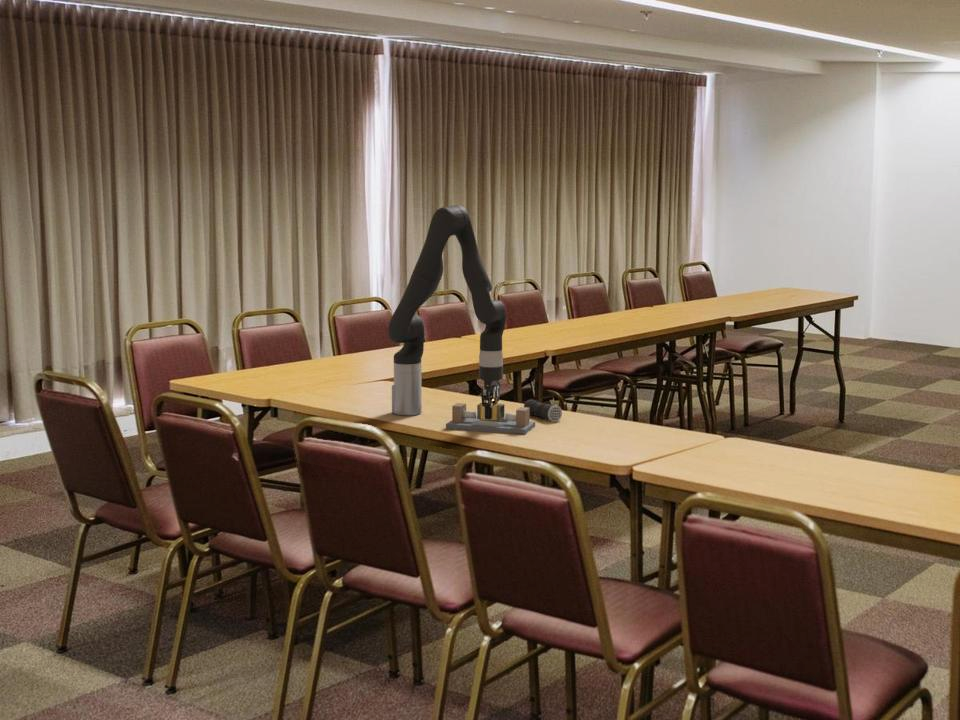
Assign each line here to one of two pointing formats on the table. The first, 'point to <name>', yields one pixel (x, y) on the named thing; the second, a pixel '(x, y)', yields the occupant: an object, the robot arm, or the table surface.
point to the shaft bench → (490, 421)
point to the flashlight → (544, 410)
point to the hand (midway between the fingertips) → (490, 417)
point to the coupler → (496, 412)
